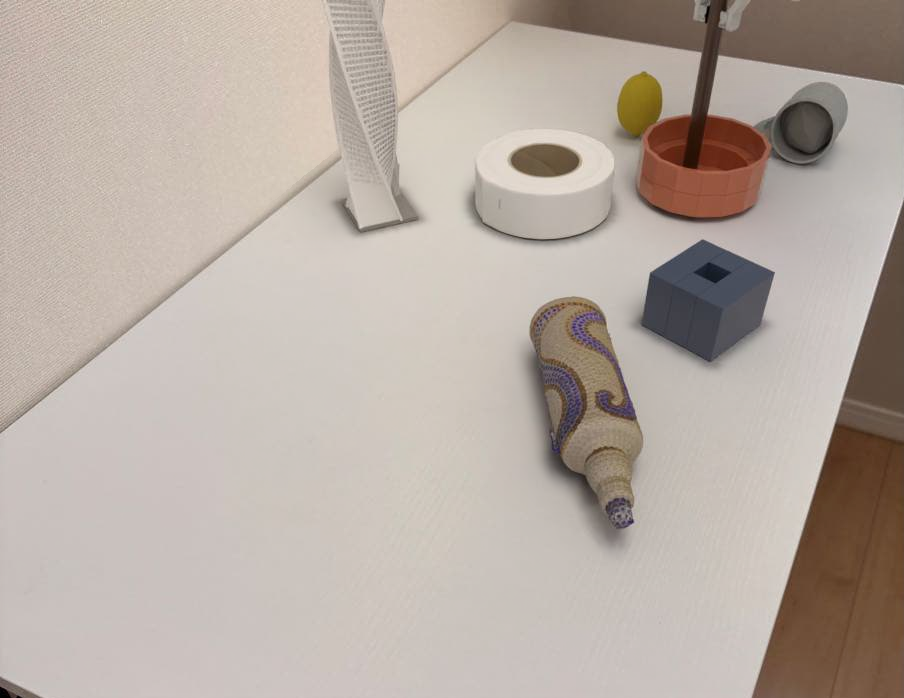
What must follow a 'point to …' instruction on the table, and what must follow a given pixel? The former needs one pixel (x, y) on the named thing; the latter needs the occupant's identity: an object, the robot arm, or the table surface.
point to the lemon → (639, 103)
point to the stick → (704, 84)
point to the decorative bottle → (588, 401)
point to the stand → (706, 299)
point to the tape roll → (544, 183)
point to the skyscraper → (365, 113)
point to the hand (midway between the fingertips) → (715, 24)
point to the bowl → (703, 167)
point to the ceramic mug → (807, 123)
